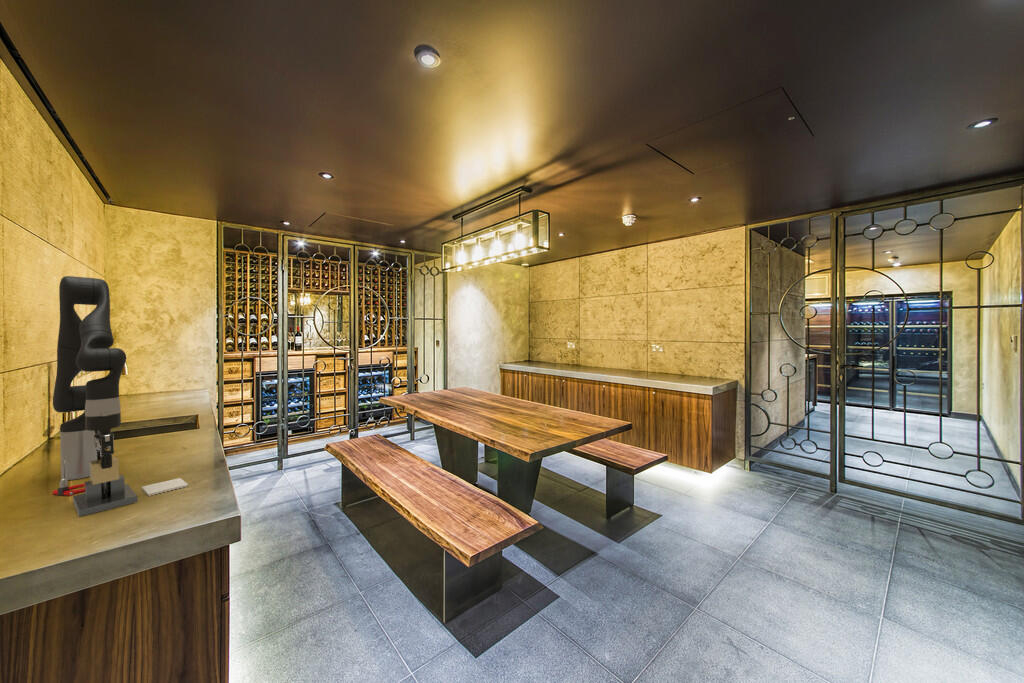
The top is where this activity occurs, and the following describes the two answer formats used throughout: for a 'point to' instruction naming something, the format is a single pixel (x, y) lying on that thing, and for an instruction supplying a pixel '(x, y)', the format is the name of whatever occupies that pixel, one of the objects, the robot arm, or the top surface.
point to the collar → (103, 471)
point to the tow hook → (66, 482)
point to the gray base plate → (103, 496)
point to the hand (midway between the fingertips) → (104, 465)
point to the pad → (164, 486)
